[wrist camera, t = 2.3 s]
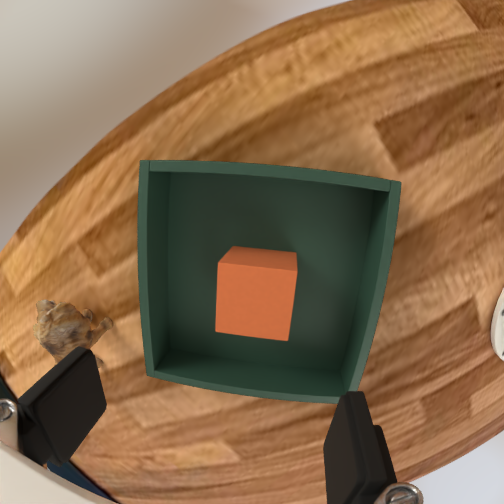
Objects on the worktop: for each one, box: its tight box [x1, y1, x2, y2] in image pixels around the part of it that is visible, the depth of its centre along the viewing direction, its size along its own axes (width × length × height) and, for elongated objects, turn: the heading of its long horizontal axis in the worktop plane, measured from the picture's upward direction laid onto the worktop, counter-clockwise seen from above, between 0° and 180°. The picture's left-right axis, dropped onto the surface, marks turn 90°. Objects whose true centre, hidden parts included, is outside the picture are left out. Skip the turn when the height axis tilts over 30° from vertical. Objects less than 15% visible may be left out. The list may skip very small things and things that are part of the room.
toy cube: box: [215, 246, 298, 341], centre depth 22 cm, size 5×5×5 cm
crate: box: [138, 160, 401, 404], centre depth 22 cm, size 18×18×4 cm
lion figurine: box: [33, 300, 113, 368], centre depth 24 cm, size 15×5×9 cm, turn 160°
